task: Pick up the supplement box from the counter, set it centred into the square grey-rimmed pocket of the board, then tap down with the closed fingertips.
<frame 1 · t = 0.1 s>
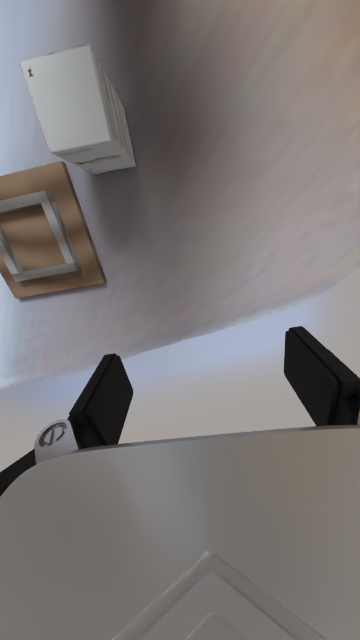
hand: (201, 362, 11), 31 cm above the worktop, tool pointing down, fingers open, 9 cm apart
supplement box: (109, 144, 32), on the worktop
pocket board: (39, 239, 38), on the worktop
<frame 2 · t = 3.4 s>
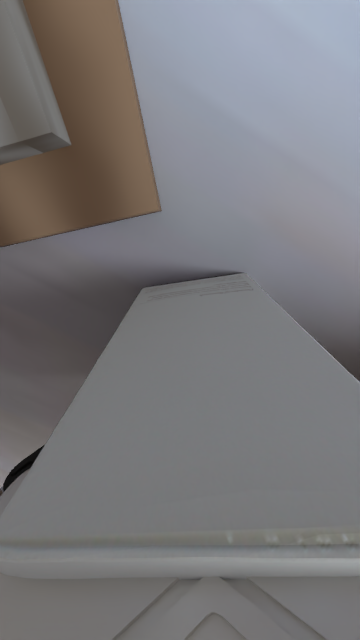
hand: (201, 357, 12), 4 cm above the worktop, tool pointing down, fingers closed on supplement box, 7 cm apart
supplement box: (198, 324, 15), on the worktop, touching gripper
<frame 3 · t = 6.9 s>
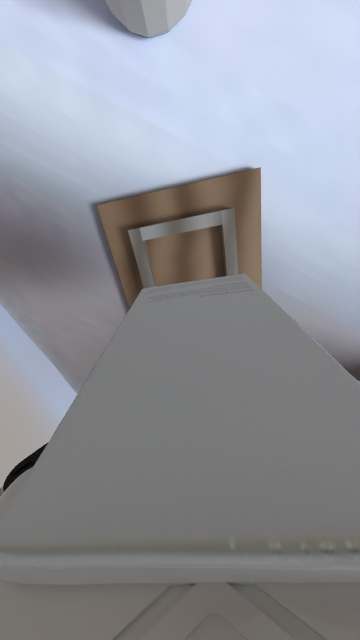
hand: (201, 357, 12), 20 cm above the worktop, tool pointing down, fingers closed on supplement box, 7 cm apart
supplement box: (198, 325, 15), point 16 cm above the worktop, touching gripper
pocket board: (188, 268, 29), on the worktop
when the fingers open (6 cm above the worktop, at t = 10.3 s): supplement box stays where it is, resting on pocket board.
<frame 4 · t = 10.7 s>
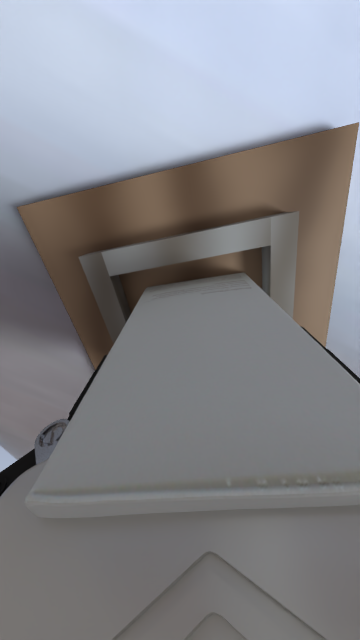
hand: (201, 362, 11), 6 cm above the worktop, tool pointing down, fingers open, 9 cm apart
supplement box: (199, 322, 16), point 1 cm above the worktop, touching pocket board
pocket board: (197, 314, 17), on the worktop
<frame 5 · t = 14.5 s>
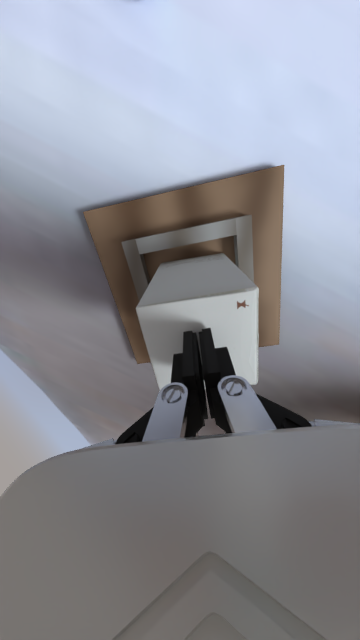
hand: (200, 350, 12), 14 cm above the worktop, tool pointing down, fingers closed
supplement box: (195, 287, 24), point 1 cm above the worktop, touching pocket board
pocket board: (193, 284, 25), on the worktop
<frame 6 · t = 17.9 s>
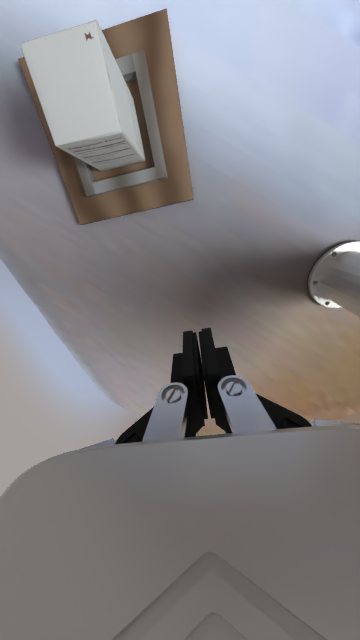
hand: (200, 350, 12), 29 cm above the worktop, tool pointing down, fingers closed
supplement box: (117, 138, 30), point 1 cm above the worktop, touching pocket board
pocket board: (117, 139, 31), on the worktop
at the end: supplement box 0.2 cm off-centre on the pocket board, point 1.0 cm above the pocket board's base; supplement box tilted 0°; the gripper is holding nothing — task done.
